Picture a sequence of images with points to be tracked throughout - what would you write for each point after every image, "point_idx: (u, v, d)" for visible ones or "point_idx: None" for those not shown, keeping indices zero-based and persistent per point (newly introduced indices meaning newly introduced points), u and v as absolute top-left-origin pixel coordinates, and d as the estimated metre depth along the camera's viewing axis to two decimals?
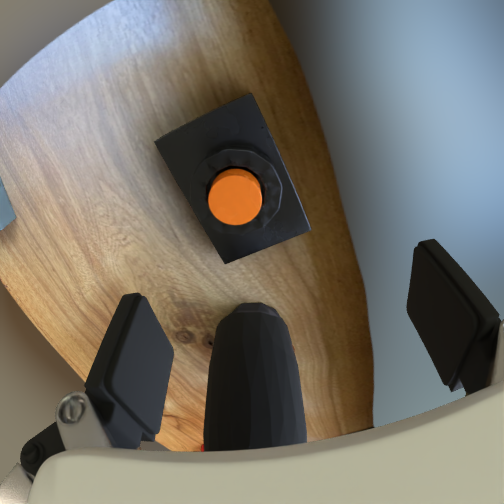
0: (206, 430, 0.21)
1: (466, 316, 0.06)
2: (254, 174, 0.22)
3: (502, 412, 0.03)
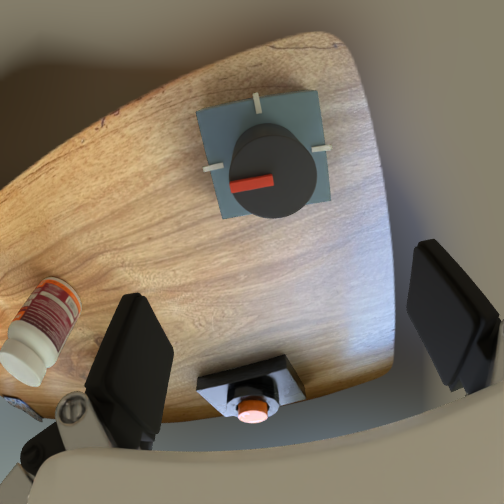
0: None
1: (466, 316, 0.06)
2: None
3: (502, 412, 0.03)
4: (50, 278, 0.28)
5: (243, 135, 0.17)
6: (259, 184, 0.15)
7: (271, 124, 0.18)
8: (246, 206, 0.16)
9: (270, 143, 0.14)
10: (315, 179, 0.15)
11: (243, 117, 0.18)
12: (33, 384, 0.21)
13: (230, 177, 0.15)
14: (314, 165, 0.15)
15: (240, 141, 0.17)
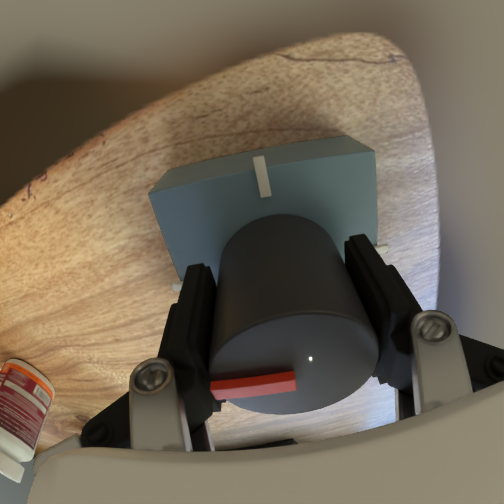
0: None
1: (378, 307, 0.07)
2: None
3: (502, 412, 0.03)
4: (14, 361, 0.20)
5: (236, 250, 0.10)
6: (268, 390, 0.07)
7: (289, 222, 0.10)
8: (244, 405, 0.08)
9: (295, 327, 0.06)
10: (374, 367, 0.07)
11: (235, 203, 0.10)
12: (13, 480, 0.13)
13: (211, 375, 0.07)
14: (378, 350, 0.07)
15: (230, 276, 0.09)
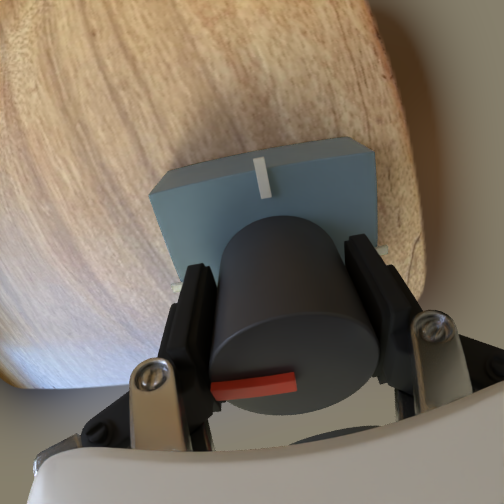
0: None
1: (377, 307, 0.07)
2: None
3: (502, 412, 0.03)
4: None
5: (236, 251, 0.10)
6: (268, 391, 0.07)
7: (289, 223, 0.10)
8: (245, 406, 0.08)
9: (295, 328, 0.06)
10: (374, 368, 0.07)
11: (352, 231, 0.11)
12: None
13: (212, 377, 0.07)
14: (378, 350, 0.07)
15: (230, 277, 0.09)
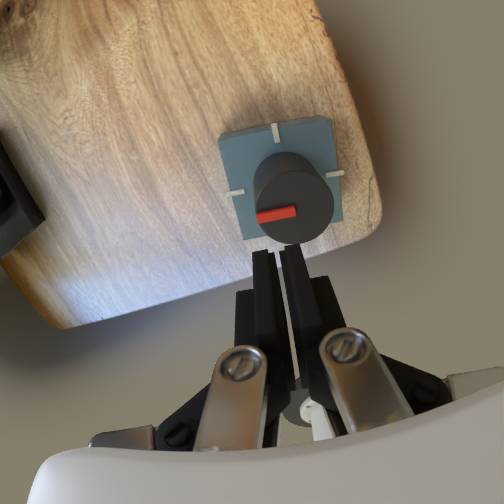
0: None
1: None
2: None
3: (502, 412, 0.03)
4: None
5: (263, 165, 0.19)
6: (283, 215, 0.17)
7: (289, 153, 0.19)
8: (271, 234, 0.18)
9: (292, 178, 0.16)
10: (332, 208, 0.17)
11: (322, 161, 0.20)
12: None
13: (256, 209, 0.17)
14: (332, 196, 0.17)
15: (262, 172, 0.18)
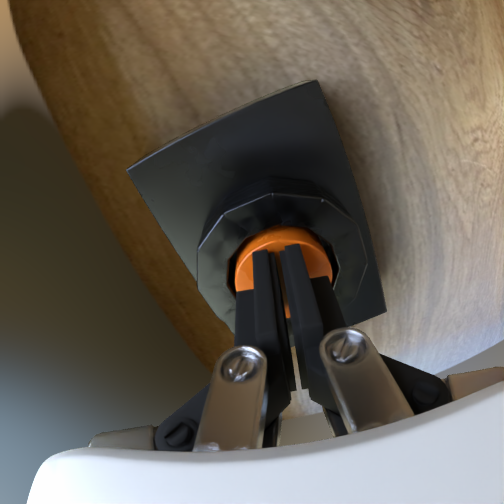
0: None
1: None
2: None
3: (502, 412, 0.03)
4: None
5: None
6: None
7: None
8: None
9: None
10: None
11: None
12: None
13: None
14: None
15: None
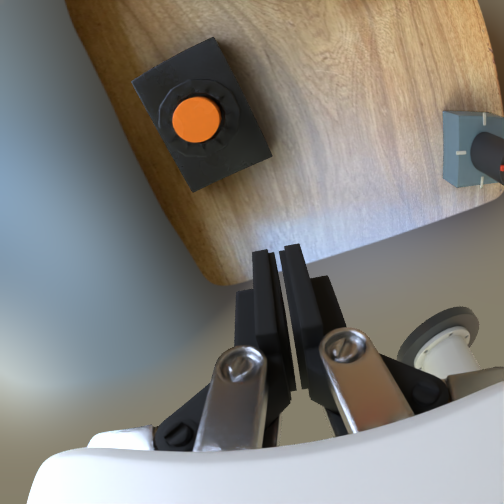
0: None
1: None
2: None
3: (502, 412, 0.03)
4: None
5: (485, 138, 0.22)
6: None
7: None
8: (502, 179, 0.20)
9: None
10: None
11: None
12: None
13: (501, 162, 0.20)
14: None
15: (490, 142, 0.21)
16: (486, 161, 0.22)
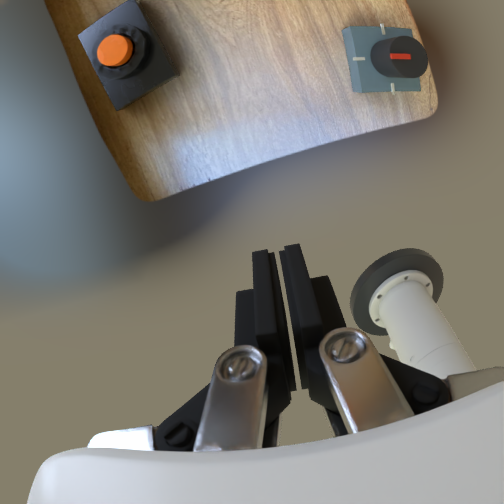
0: None
1: None
2: None
3: (502, 412, 0.03)
4: None
5: (380, 41, 0.24)
6: (404, 56, 0.21)
7: None
8: (397, 68, 0.22)
9: (407, 39, 0.20)
10: (427, 61, 0.21)
11: None
12: None
13: (390, 51, 0.21)
14: (426, 54, 0.21)
15: (384, 41, 0.23)
16: (380, 58, 0.24)
